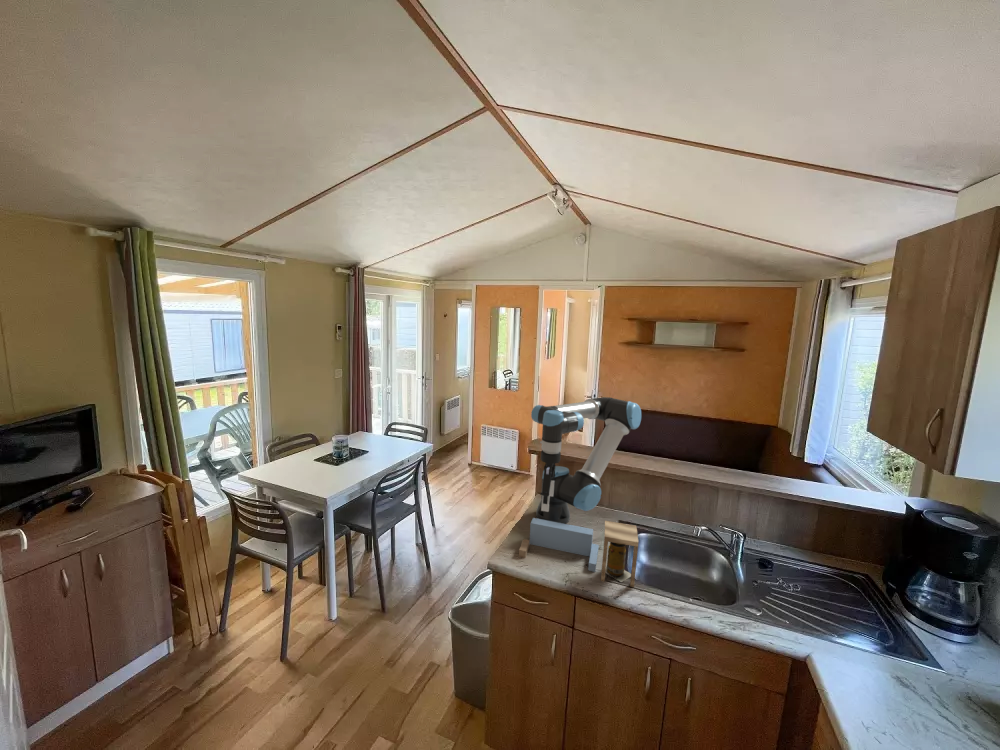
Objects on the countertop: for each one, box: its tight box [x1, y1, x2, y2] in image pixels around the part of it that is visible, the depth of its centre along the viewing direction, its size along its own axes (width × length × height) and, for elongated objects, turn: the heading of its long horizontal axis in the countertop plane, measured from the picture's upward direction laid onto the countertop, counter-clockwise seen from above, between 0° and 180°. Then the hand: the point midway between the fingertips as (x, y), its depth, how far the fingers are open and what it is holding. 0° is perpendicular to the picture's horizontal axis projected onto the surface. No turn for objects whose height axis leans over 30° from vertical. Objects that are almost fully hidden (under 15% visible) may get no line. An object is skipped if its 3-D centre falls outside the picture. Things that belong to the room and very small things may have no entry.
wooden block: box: [518, 538, 530, 559], centre depth 159 cm, size 8×2×3 cm, turn 166°
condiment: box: [600, 542, 631, 583], centre depth 147 cm, size 7×8×12 cm
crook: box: [529, 517, 600, 573], centre depth 158 cm, size 14×26×9 cm, turn 73°
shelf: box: [600, 520, 639, 588], centre depth 146 cm, size 12×11×17 cm
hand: (547, 503), depth 161 cm, fingers open, 13 cm apart
